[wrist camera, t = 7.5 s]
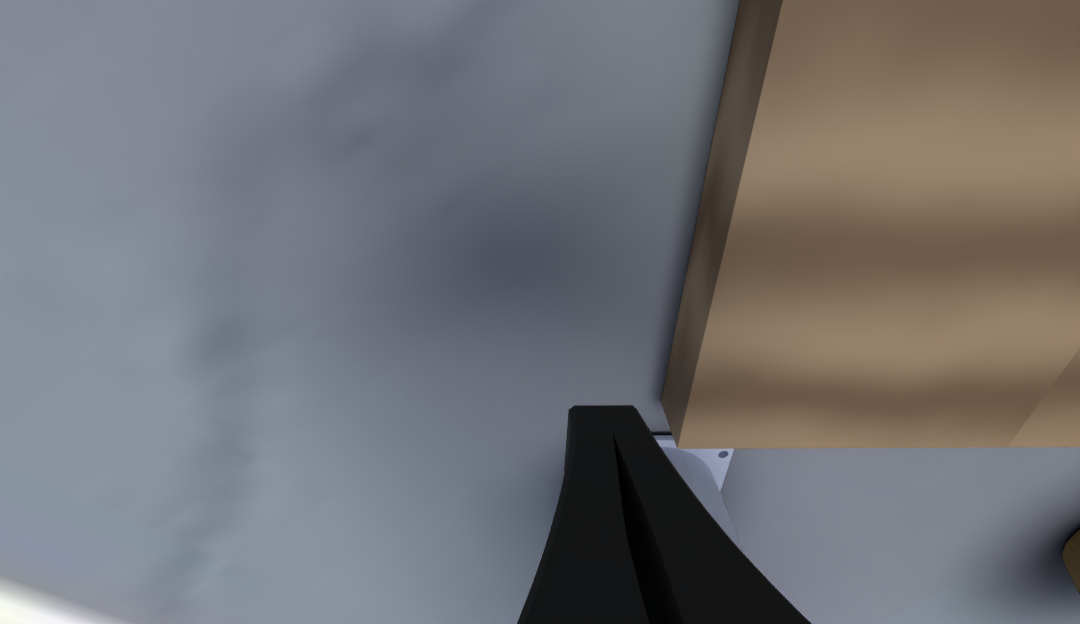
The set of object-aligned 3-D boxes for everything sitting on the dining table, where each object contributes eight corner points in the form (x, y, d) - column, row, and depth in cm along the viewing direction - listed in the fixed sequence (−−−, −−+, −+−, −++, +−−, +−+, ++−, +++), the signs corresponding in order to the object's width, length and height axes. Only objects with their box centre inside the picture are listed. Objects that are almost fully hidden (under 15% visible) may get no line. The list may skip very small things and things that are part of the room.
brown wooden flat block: (1097, 401, 25) (1164, 446, 22) (661, 401, 24) (677, 448, 21) (1454, -42, 15) (1641, -52, 13) (752, -63, 14) (801, -78, 12)
